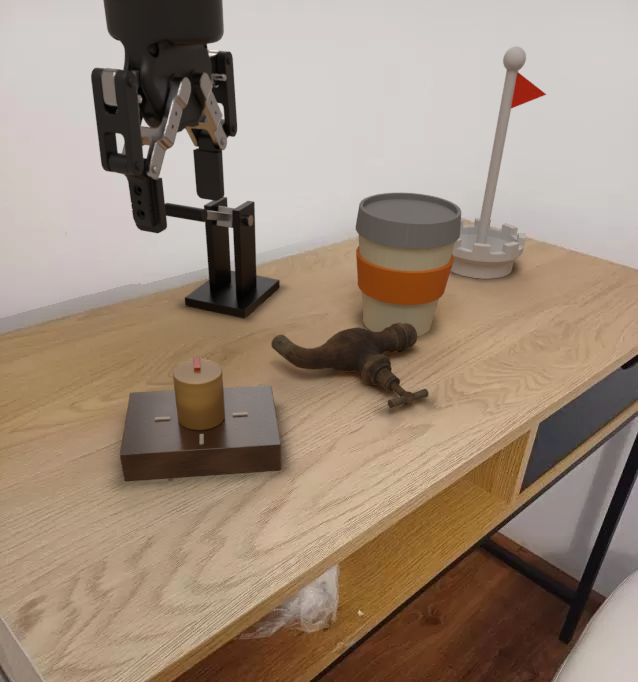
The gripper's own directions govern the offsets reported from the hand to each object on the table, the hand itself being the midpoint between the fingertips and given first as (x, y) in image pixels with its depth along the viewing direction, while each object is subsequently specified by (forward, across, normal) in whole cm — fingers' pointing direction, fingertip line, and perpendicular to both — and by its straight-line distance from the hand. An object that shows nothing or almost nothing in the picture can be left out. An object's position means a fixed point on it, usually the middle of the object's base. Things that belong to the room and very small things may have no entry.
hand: (183, 213), depth 49 cm
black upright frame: (+22, -31, -13) cm, 40 cm away
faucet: (+22, -18, +11) cm, 31 cm away
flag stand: (+22, -58, +16) cm, 64 cm away
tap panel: (+22, 0, 0) cm, 22 cm away
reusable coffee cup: (+22, -33, +10) cm, 41 cm away
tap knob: (+19, 0, 0) cm, 19 cm away
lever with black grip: (+11, -26, -13) cm, 31 cm away
